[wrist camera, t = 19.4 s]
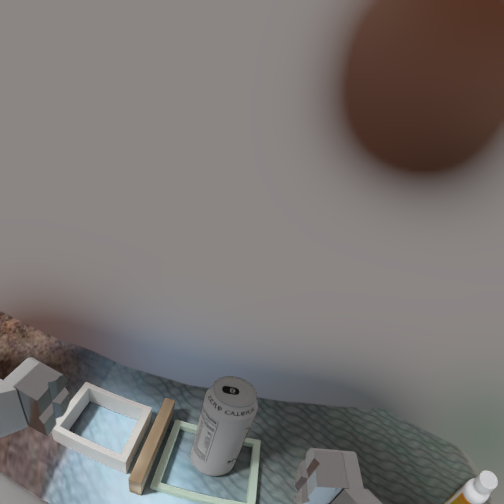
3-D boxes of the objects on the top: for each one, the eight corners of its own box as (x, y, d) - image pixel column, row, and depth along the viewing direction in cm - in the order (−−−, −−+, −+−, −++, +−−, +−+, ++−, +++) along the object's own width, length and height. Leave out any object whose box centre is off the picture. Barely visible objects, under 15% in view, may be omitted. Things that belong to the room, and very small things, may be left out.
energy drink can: (233, 481, 33) (264, 413, 29) (188, 475, 33) (206, 404, 28) (232, 449, 39) (260, 377, 35) (191, 442, 38) (209, 368, 34)
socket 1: (54, 440, 30) (50, 427, 29) (87, 394, 40) (85, 381, 40) (126, 473, 30) (125, 462, 29) (151, 420, 40) (152, 407, 40)
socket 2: (150, 488, 29) (150, 485, 29) (175, 423, 41) (175, 419, 41) (252, 513, 29) (254, 510, 28) (259, 444, 41) (260, 440, 41)
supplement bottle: (460, 528, 24) (501, 494, 21) (435, 523, 26) (476, 488, 23) (463, 506, 28) (500, 470, 26) (439, 499, 31) (476, 464, 28)
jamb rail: (129, 491, 27) (128, 479, 26) (163, 412, 43) (165, 397, 42) (141, 495, 27) (140, 483, 26) (172, 415, 43) (175, 400, 42)
